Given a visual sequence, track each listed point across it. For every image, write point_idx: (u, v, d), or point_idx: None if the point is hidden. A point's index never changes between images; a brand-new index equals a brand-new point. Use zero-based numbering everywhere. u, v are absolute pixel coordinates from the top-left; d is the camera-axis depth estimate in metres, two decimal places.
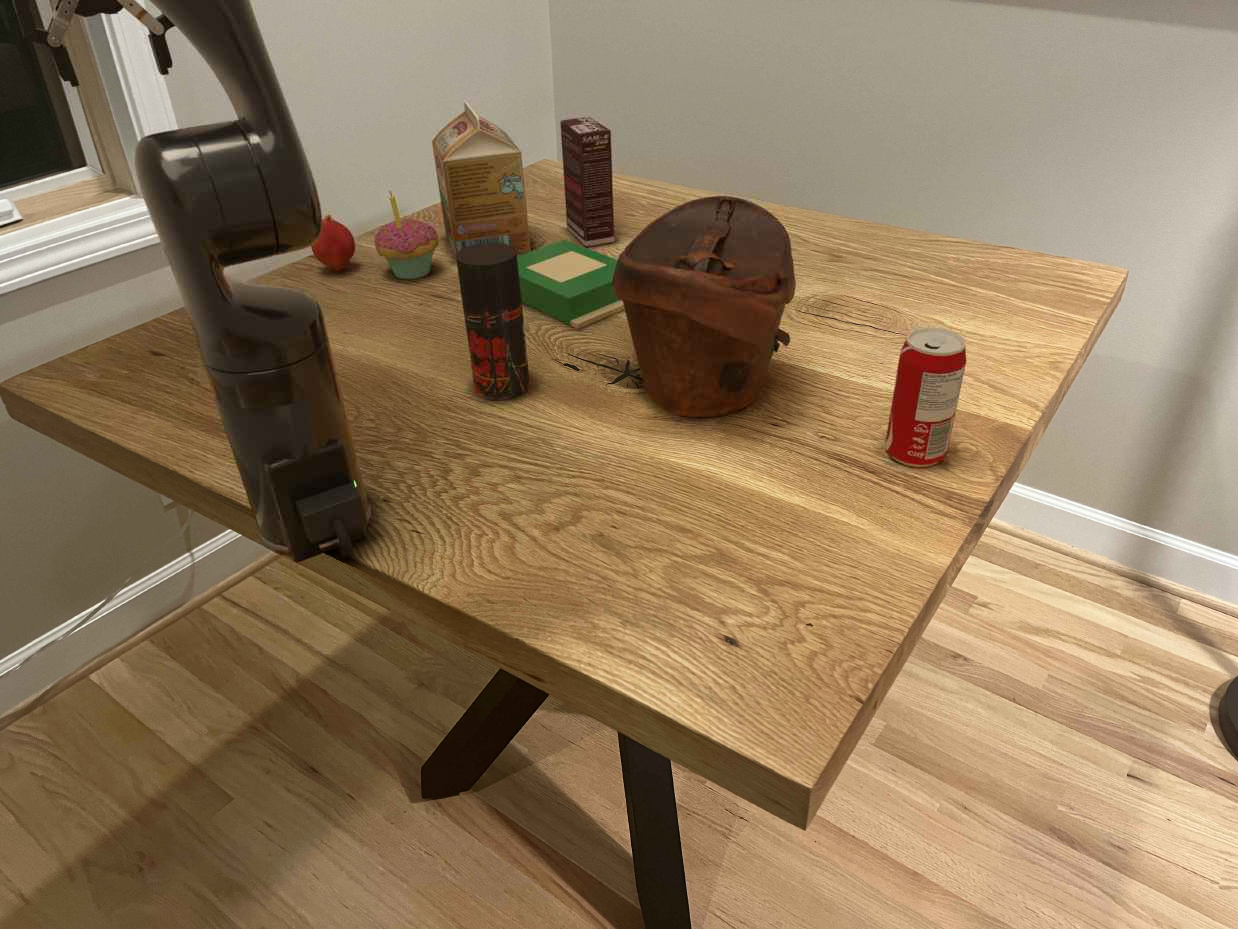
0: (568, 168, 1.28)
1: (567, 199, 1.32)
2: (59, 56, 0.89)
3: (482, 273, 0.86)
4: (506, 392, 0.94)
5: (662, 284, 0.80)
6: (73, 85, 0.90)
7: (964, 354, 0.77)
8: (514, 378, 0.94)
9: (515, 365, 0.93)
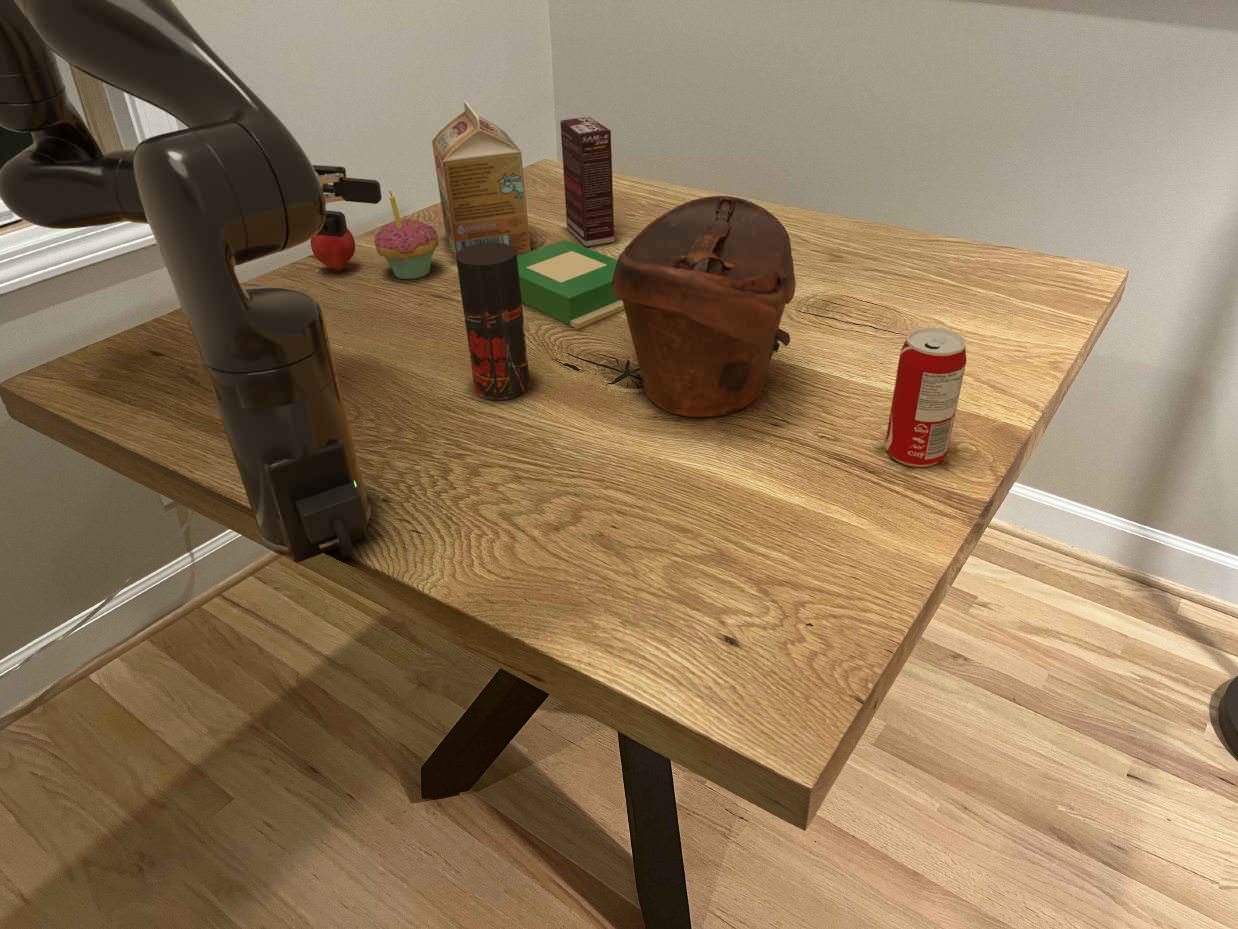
0: (568, 168, 1.28)
1: (567, 199, 1.32)
2: None
3: (482, 273, 0.86)
4: (506, 392, 0.94)
5: (662, 284, 0.80)
6: (340, 215, 0.83)
7: (964, 354, 0.77)
8: (514, 378, 0.94)
9: (515, 365, 0.93)
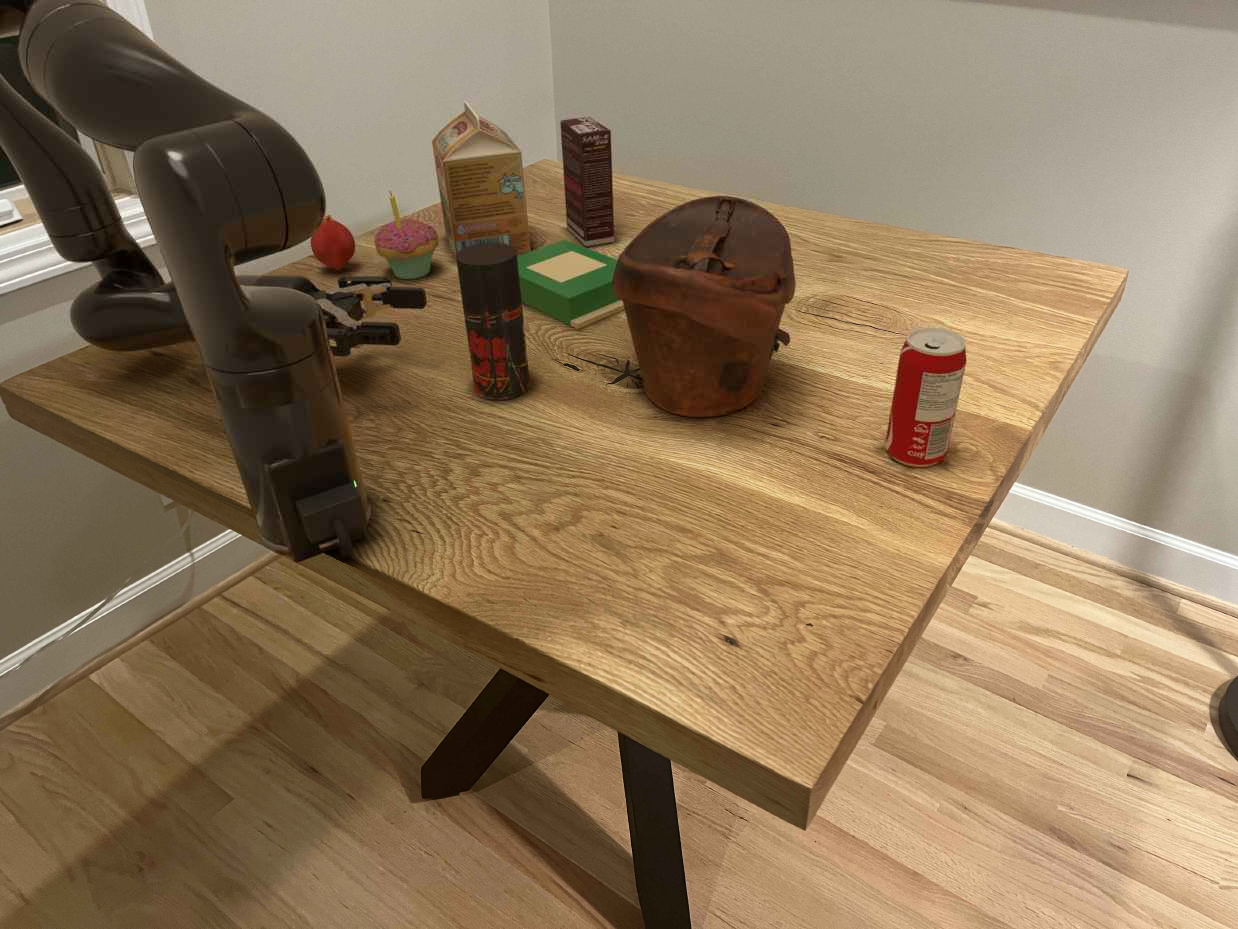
0: (568, 168, 1.28)
1: (567, 199, 1.32)
2: (368, 329, 0.89)
3: (482, 273, 0.86)
4: (506, 392, 0.94)
5: (662, 284, 0.80)
6: (394, 325, 0.89)
7: (964, 354, 0.77)
8: (514, 378, 0.94)
9: (515, 365, 0.93)
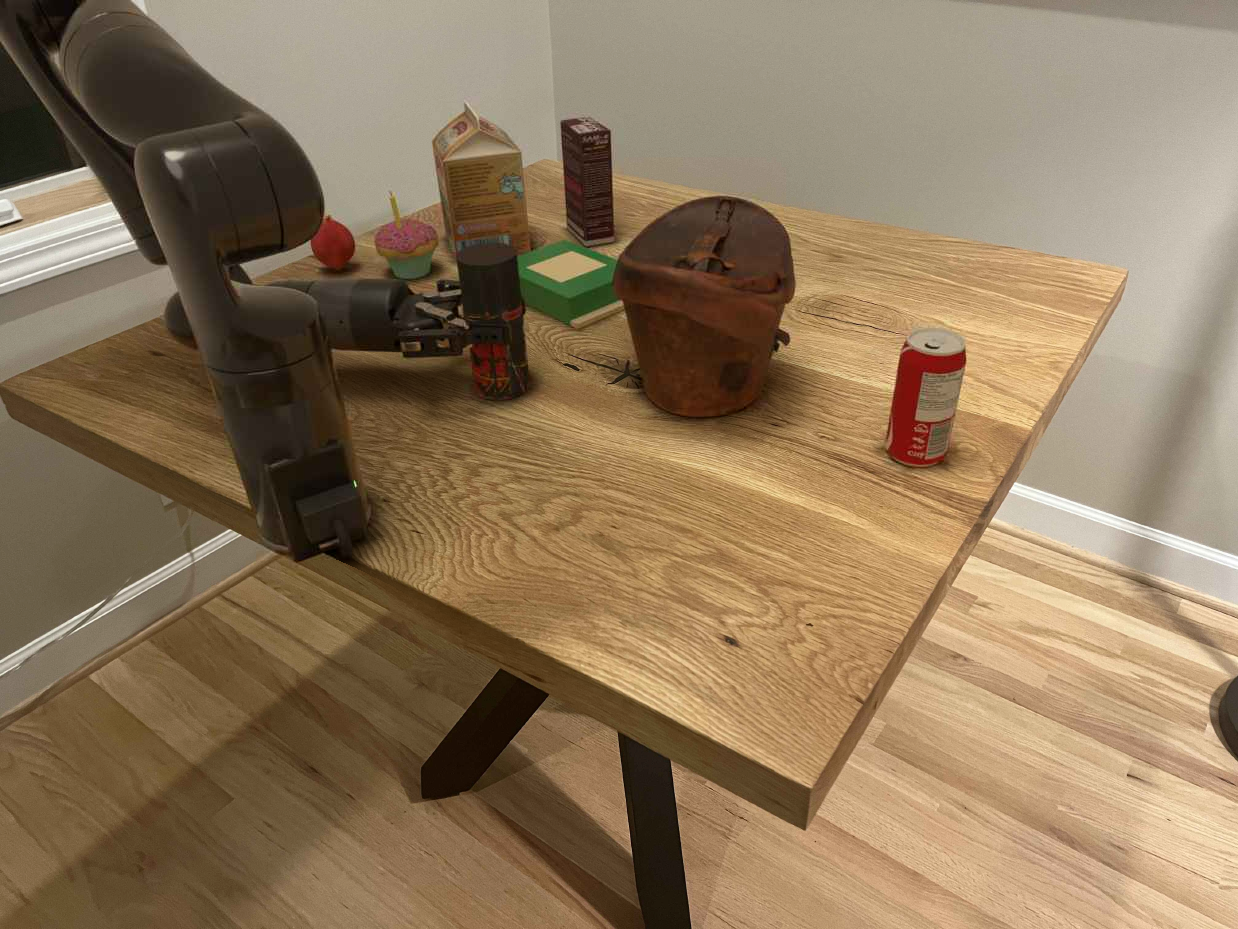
0: (568, 168, 1.28)
1: (567, 199, 1.32)
2: (480, 328, 0.89)
3: (482, 273, 0.86)
4: (506, 392, 0.94)
5: (662, 284, 0.80)
6: (507, 325, 0.89)
7: (964, 354, 0.77)
8: (514, 378, 0.94)
9: (515, 365, 0.93)
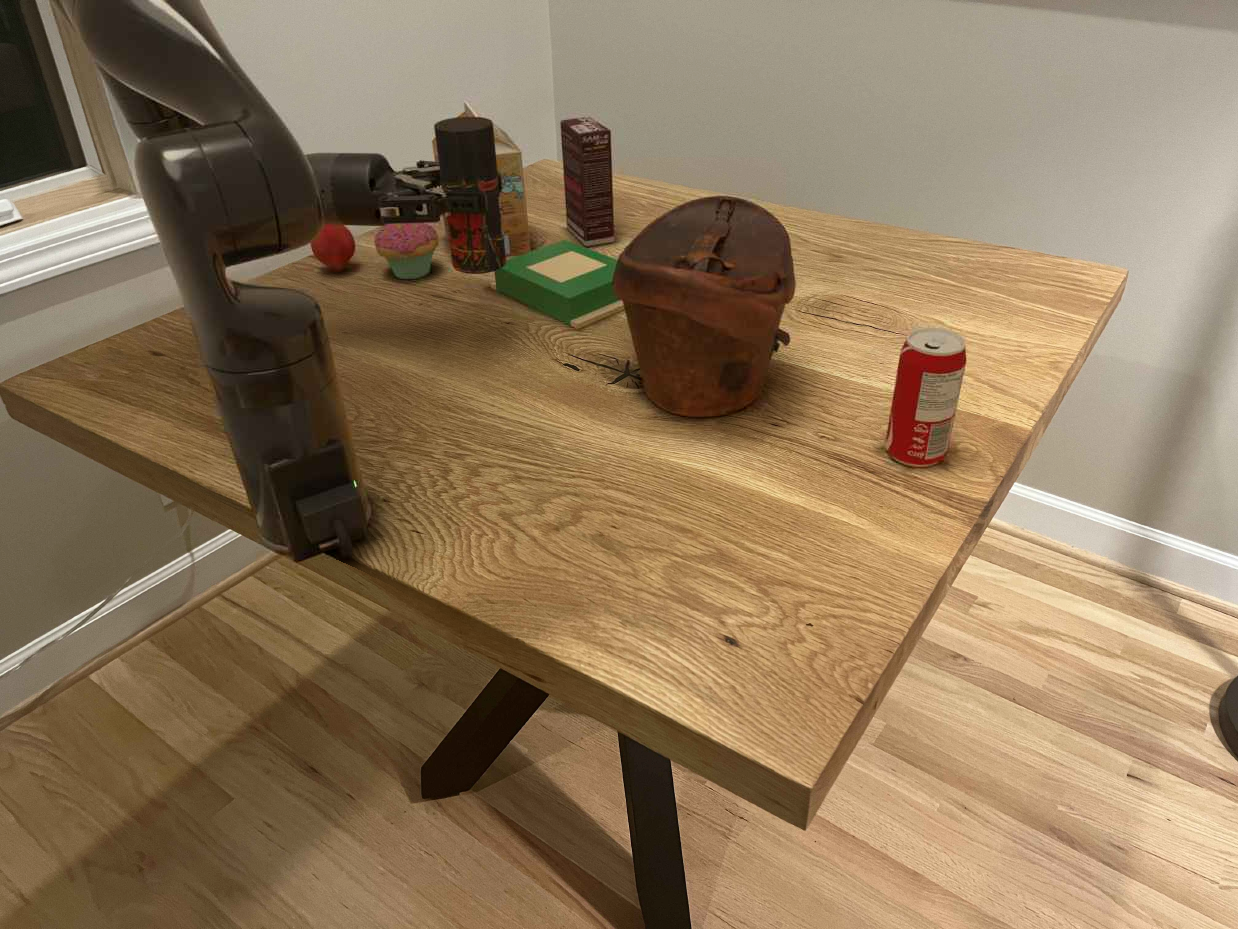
0: (568, 168, 1.28)
1: (567, 199, 1.32)
2: (457, 196, 0.92)
3: (459, 140, 0.90)
4: (482, 265, 0.98)
5: (662, 284, 0.80)
6: (483, 193, 0.92)
7: (964, 354, 0.77)
8: (490, 251, 0.97)
9: (491, 238, 0.96)
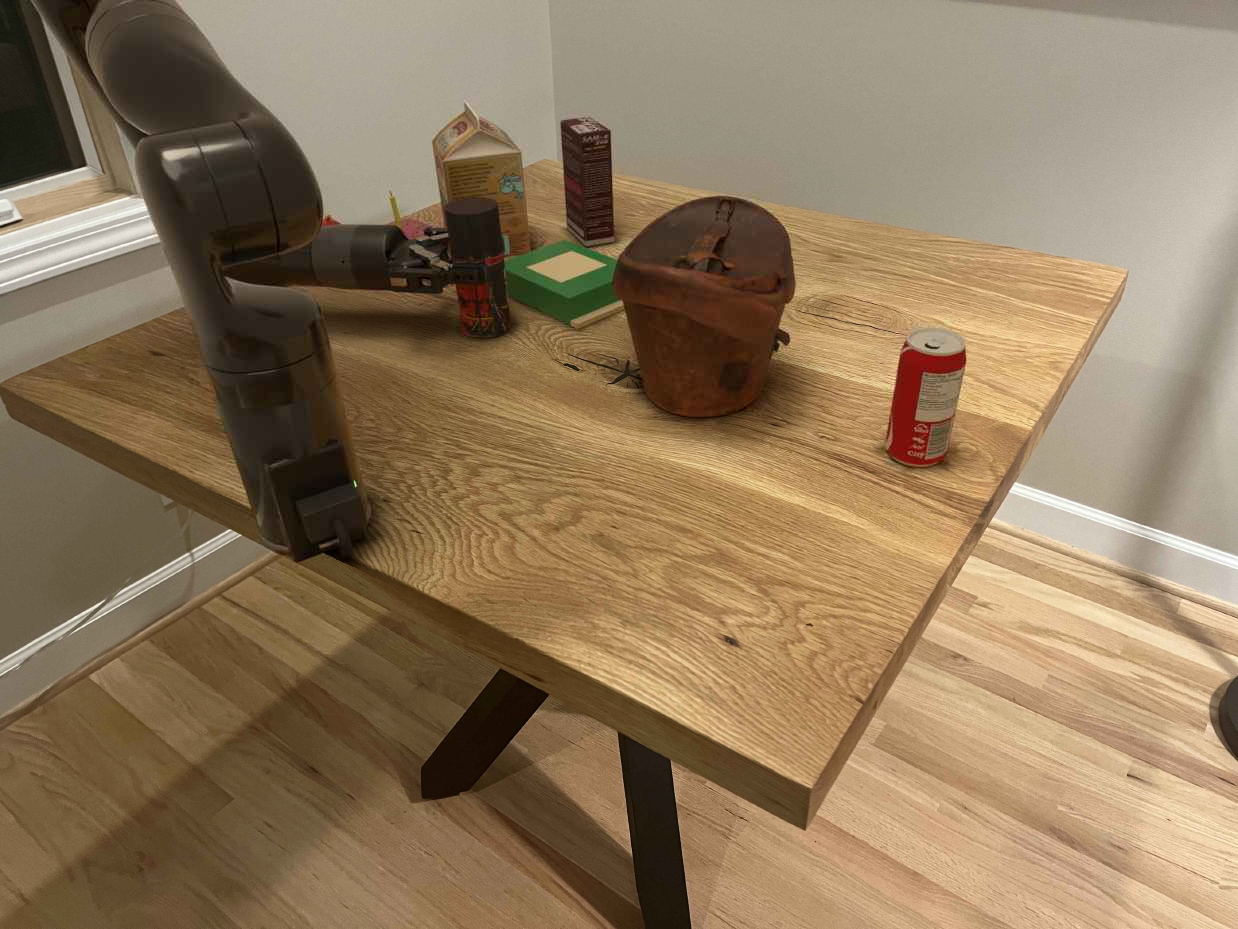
0: (568, 168, 1.28)
1: (567, 199, 1.32)
2: (458, 269, 1.00)
3: (467, 222, 0.98)
4: (489, 331, 1.06)
5: (662, 284, 0.80)
6: (482, 266, 1.00)
7: (964, 354, 0.77)
8: (496, 318, 1.06)
9: (497, 306, 1.05)
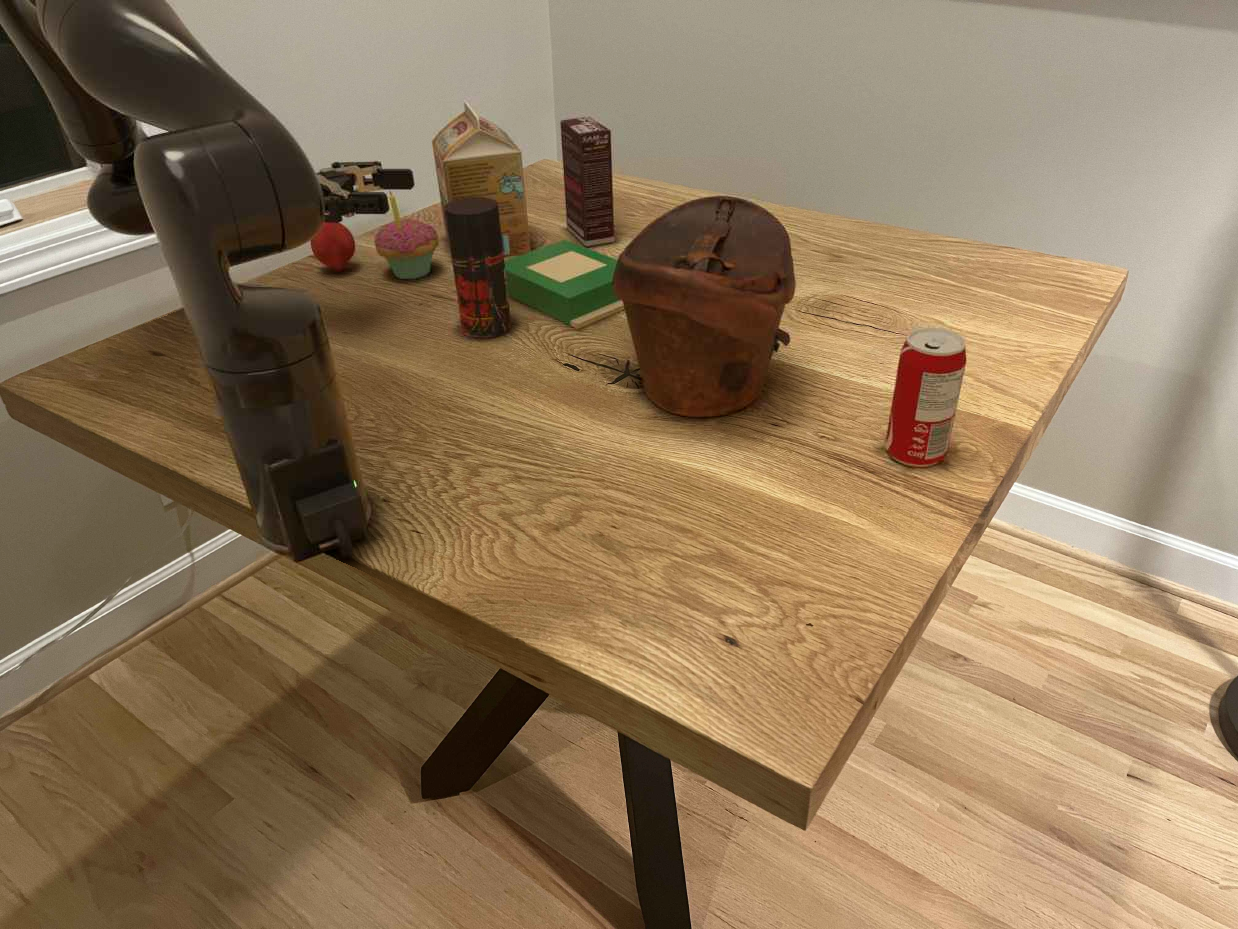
0: (568, 168, 1.28)
1: (567, 199, 1.32)
2: (358, 197, 0.96)
3: (467, 222, 0.98)
4: (489, 331, 1.06)
5: (662, 284, 0.80)
6: (383, 194, 0.96)
7: (964, 354, 0.77)
8: (496, 318, 1.06)
9: (497, 306, 1.05)
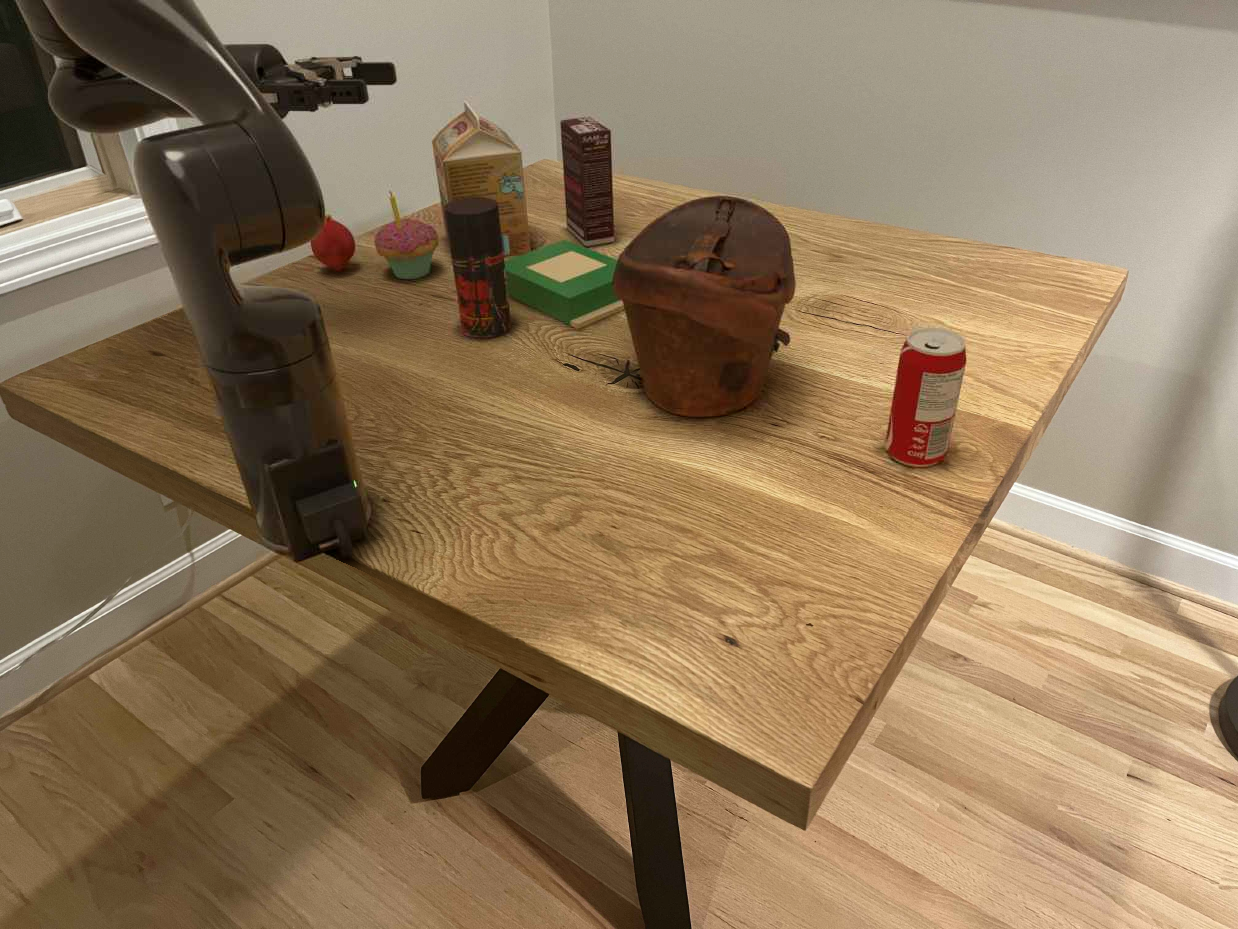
0: (568, 168, 1.28)
1: (567, 199, 1.32)
2: (335, 85, 0.90)
3: (467, 222, 0.98)
4: (489, 331, 1.06)
5: (662, 284, 0.80)
6: (362, 81, 0.90)
7: (964, 354, 0.77)
8: (496, 318, 1.06)
9: (497, 306, 1.05)
